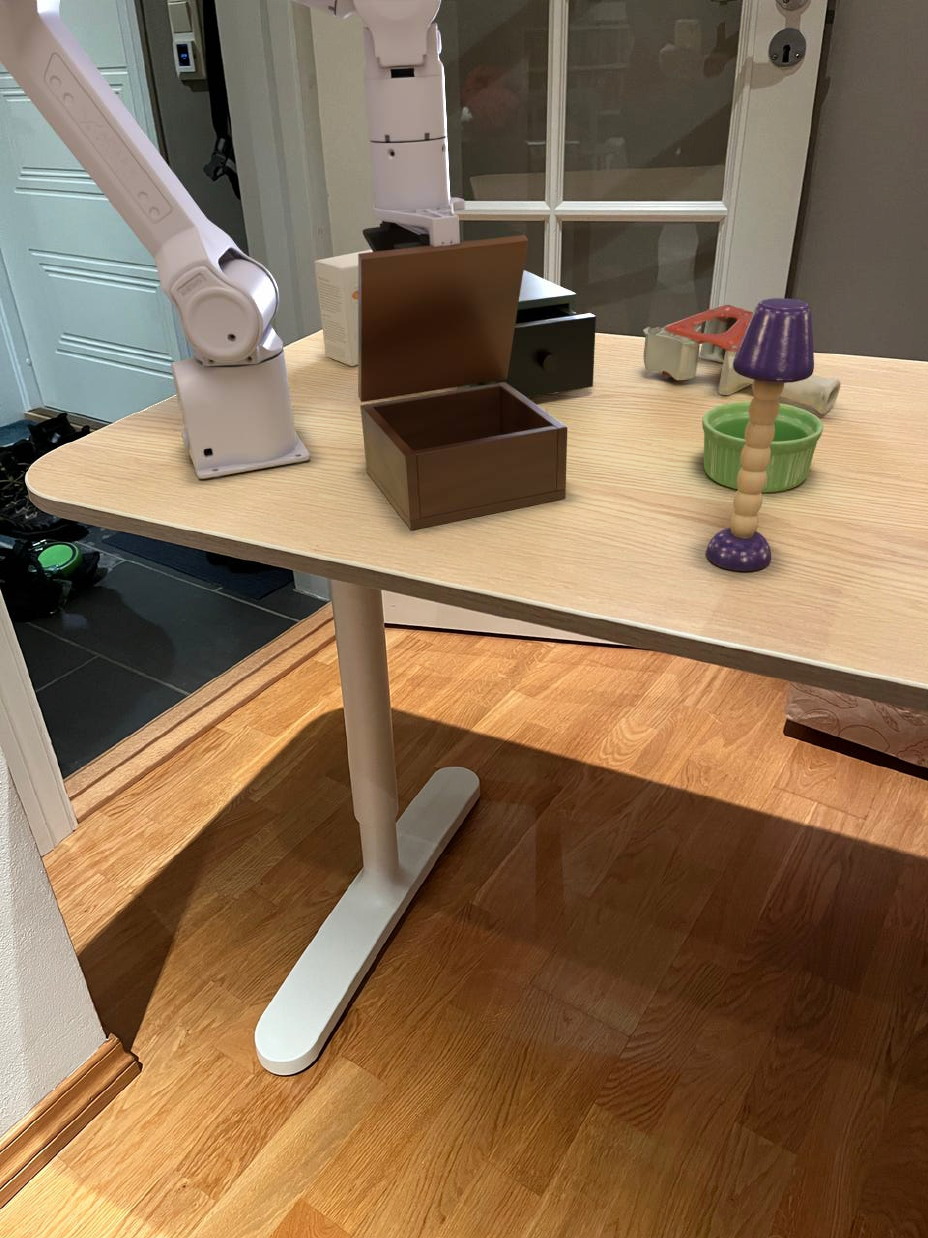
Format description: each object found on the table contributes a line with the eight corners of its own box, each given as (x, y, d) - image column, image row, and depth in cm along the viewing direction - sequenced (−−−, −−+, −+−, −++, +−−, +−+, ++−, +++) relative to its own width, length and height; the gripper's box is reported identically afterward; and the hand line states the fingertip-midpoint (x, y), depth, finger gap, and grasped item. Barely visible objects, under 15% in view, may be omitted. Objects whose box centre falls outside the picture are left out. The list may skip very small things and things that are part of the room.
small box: (381, 342, 107) (373, 248, 101) (409, 352, 103) (403, 254, 98) (324, 356, 103) (312, 259, 97) (351, 367, 99) (340, 267, 94)
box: (565, 498, 70) (567, 426, 66) (410, 530, 66) (405, 456, 63) (505, 446, 79) (505, 381, 76) (366, 472, 75) (360, 404, 72)
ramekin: (697, 448, 77) (702, 398, 74) (808, 454, 75) (817, 402, 73) (696, 493, 70) (702, 439, 67) (819, 500, 68) (830, 445, 65)
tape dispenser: (840, 434, 82) (796, 354, 98) (855, 378, 79) (808, 305, 95) (644, 425, 83) (633, 347, 99) (652, 369, 80) (639, 299, 96)
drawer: (599, 390, 87) (602, 319, 84) (500, 407, 84) (499, 333, 81) (538, 353, 98) (539, 288, 95) (449, 367, 95) (446, 300, 92)
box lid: (528, 240, 66) (524, 234, 66) (361, 259, 62) (358, 253, 62) (506, 378, 75) (503, 373, 76) (361, 402, 71) (358, 396, 72)
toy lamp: (728, 533, 64) (762, 289, 55) (791, 553, 61) (838, 299, 52) (694, 559, 61) (724, 305, 52) (759, 581, 58) (803, 317, 49)
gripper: (496, 141, 62) (501, 340, 69) (426, 128, 73) (437, 300, 81) (398, 150, 60) (414, 354, 67) (342, 135, 71) (361, 311, 79)
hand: (421, 326), depth 74 cm, fingers open, 7 cm apart
